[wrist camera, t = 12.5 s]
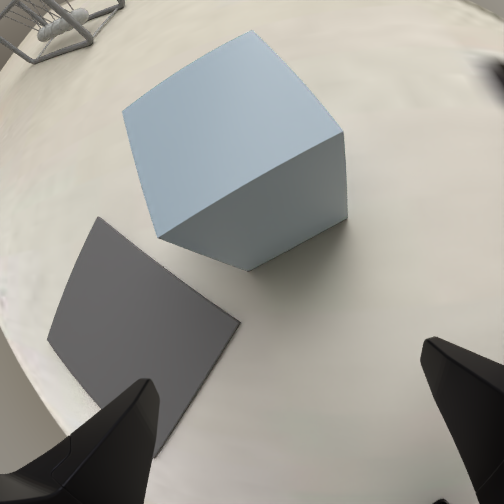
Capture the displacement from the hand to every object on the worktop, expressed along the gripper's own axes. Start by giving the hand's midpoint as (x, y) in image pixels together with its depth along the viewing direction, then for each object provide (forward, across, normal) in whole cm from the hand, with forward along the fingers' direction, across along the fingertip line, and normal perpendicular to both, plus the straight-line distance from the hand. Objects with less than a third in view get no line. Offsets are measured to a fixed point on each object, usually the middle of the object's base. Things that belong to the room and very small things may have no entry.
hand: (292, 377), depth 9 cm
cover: (+13, -1, -3) cm, 14 cm away
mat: (+12, +13, +5) cm, 18 cm away
